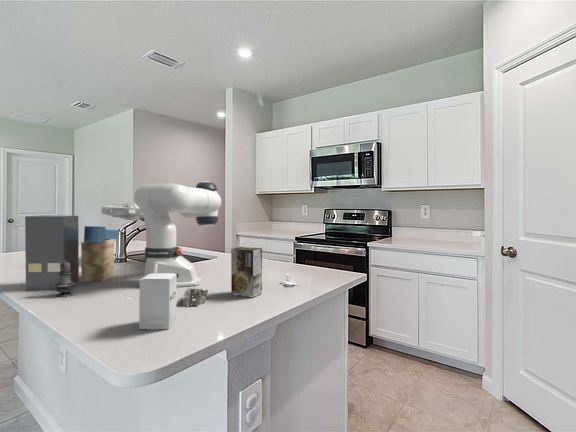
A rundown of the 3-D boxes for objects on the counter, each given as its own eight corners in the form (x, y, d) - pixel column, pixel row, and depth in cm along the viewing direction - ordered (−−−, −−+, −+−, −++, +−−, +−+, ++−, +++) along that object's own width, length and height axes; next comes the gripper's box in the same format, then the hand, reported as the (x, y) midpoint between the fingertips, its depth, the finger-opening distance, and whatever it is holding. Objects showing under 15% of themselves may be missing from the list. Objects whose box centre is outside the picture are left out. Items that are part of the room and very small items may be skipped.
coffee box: (262, 293, 115) (263, 247, 115) (253, 298, 109) (253, 250, 109) (240, 290, 119) (241, 246, 119) (230, 294, 113) (230, 248, 113)
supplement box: (169, 329, 81) (169, 278, 80) (138, 330, 80) (138, 278, 80) (177, 319, 88) (177, 272, 88) (148, 319, 88) (148, 272, 87)
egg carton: (204, 307, 100) (204, 294, 100) (179, 307, 99) (179, 294, 99) (209, 297, 110) (209, 285, 110) (187, 297, 110) (187, 285, 110)
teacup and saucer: (292, 288, 124) (292, 278, 124) (275, 286, 128) (275, 275, 128) (303, 284, 131) (303, 274, 131) (286, 281, 136) (287, 272, 135)
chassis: (78, 281, 129) (78, 215, 128) (63, 289, 117) (63, 216, 116) (44, 282, 127) (43, 215, 126) (25, 290, 115) (24, 216, 114)
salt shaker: (80, 293, 113) (79, 258, 112) (66, 297, 107) (66, 261, 106) (64, 292, 113) (64, 257, 113) (50, 297, 107) (49, 260, 107)
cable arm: (110, 241, 147) (122, 241, 148) (83, 241, 125) (97, 241, 126) (111, 228, 148) (122, 228, 148) (84, 226, 126) (98, 226, 126)
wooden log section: (113, 274, 142) (113, 239, 142) (103, 281, 131) (103, 242, 130) (93, 275, 141) (93, 239, 140) (81, 281, 129) (81, 242, 129)
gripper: (149, 218, 170) (139, 218, 156) (109, 216, 169) (95, 216, 155) (150, 206, 170) (140, 205, 156) (110, 204, 169) (95, 203, 155)
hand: (117, 210), depth 156 cm, fingers open, 8 cm apart
